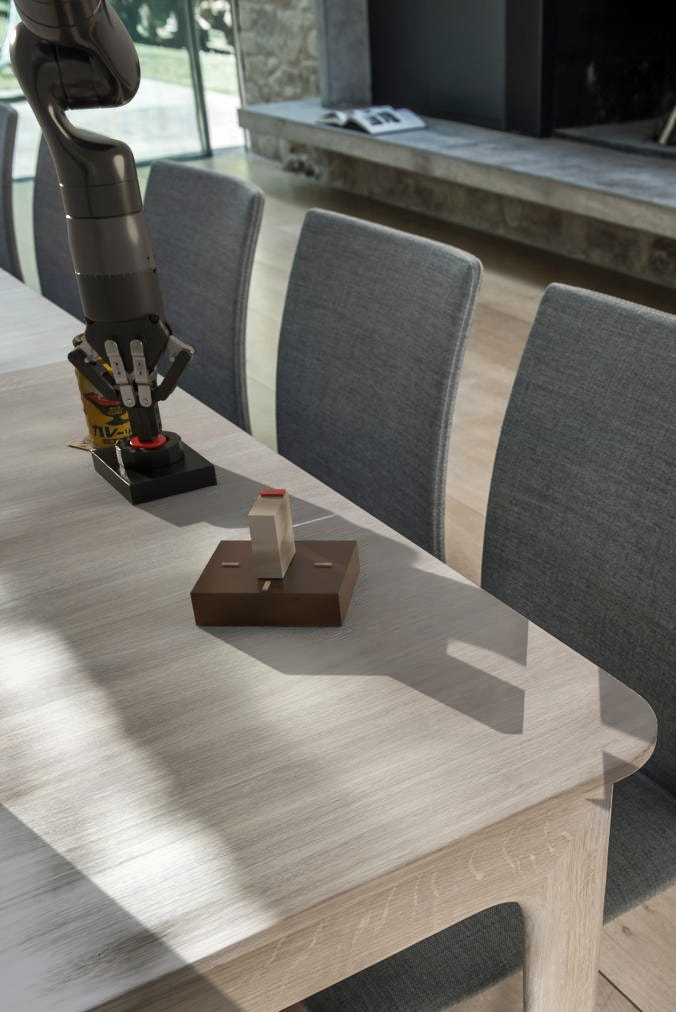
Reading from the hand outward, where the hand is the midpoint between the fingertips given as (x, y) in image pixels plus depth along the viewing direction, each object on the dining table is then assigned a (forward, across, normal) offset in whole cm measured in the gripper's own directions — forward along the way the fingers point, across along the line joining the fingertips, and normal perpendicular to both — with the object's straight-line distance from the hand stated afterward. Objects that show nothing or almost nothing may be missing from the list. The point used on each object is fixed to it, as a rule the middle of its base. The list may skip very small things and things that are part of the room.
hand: (149, 439), depth 119 cm
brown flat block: (+4, +19, -27) cm, 33 cm away
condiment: (+4, -8, +11) cm, 14 cm away
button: (+2, 0, 0) cm, 2 cm away
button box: (+4, 0, 0) cm, 4 cm away
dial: (+1, +19, -27) cm, 33 cm away
